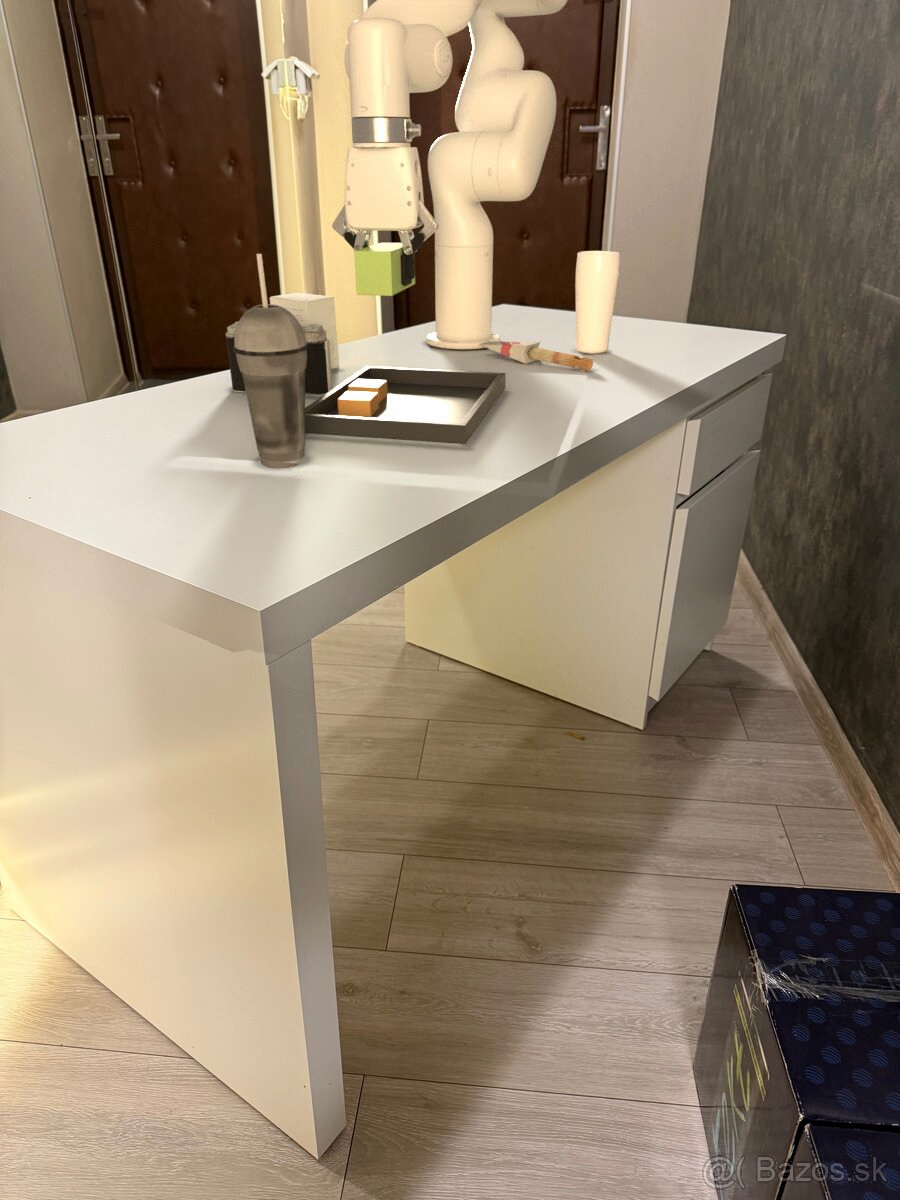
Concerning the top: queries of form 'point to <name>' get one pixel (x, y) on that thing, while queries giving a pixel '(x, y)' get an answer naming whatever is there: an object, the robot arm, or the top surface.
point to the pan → (412, 405)
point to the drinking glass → (595, 299)
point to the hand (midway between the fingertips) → (386, 282)
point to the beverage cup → (273, 378)
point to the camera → (316, 367)
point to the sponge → (379, 270)
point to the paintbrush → (537, 354)
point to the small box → (313, 315)
